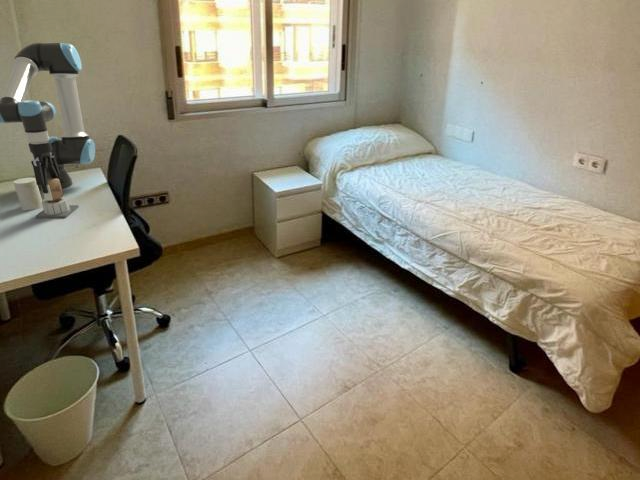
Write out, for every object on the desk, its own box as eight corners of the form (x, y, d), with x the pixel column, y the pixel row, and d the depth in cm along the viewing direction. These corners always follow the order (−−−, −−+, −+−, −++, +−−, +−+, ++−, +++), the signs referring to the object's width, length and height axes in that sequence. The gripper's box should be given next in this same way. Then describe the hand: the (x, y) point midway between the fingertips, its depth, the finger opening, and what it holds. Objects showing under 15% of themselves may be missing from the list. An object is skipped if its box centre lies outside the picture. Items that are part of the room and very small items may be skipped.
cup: (33, 211, 186) (25, 184, 181) (16, 209, 188) (8, 182, 182) (47, 204, 193) (40, 178, 188) (31, 202, 195) (24, 176, 190)
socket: (50, 207, 190) (47, 195, 188) (78, 207, 191) (75, 195, 188) (35, 218, 179) (32, 205, 177) (65, 217, 180) (62, 205, 177)
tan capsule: (51, 203, 187) (45, 178, 182) (68, 203, 187) (62, 178, 182) (43, 209, 180) (36, 183, 176) (60, 209, 181) (54, 183, 176)
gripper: (42, 136, 181) (56, 189, 191) (14, 148, 163) (31, 205, 173) (60, 136, 181) (73, 189, 191) (35, 148, 163) (51, 205, 173)
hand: (53, 196), depth 182 cm, fingers closed on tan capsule, 7 cm apart
